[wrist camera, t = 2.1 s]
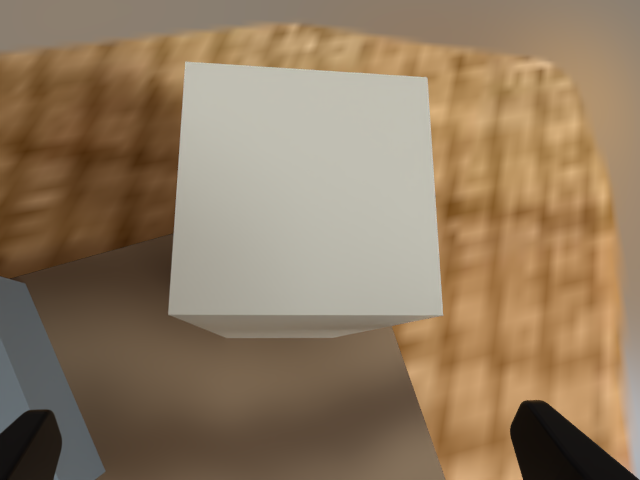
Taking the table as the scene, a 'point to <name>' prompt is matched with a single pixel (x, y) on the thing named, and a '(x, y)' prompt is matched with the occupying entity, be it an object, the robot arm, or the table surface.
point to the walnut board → (222, 385)
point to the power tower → (303, 203)
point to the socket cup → (40, 382)
